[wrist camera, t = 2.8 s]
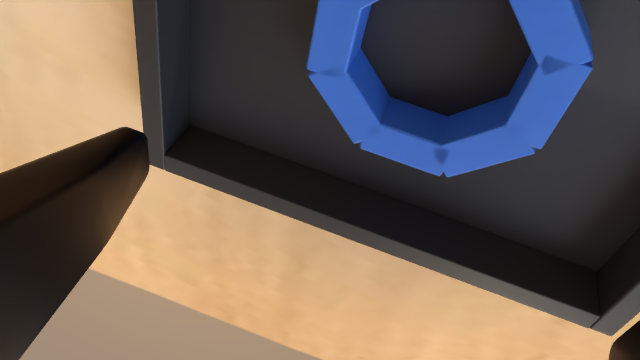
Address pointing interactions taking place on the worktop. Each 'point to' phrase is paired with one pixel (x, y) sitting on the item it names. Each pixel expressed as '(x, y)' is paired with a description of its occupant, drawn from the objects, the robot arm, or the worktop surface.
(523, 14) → the ring
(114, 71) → the worktop surface
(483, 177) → the tray
